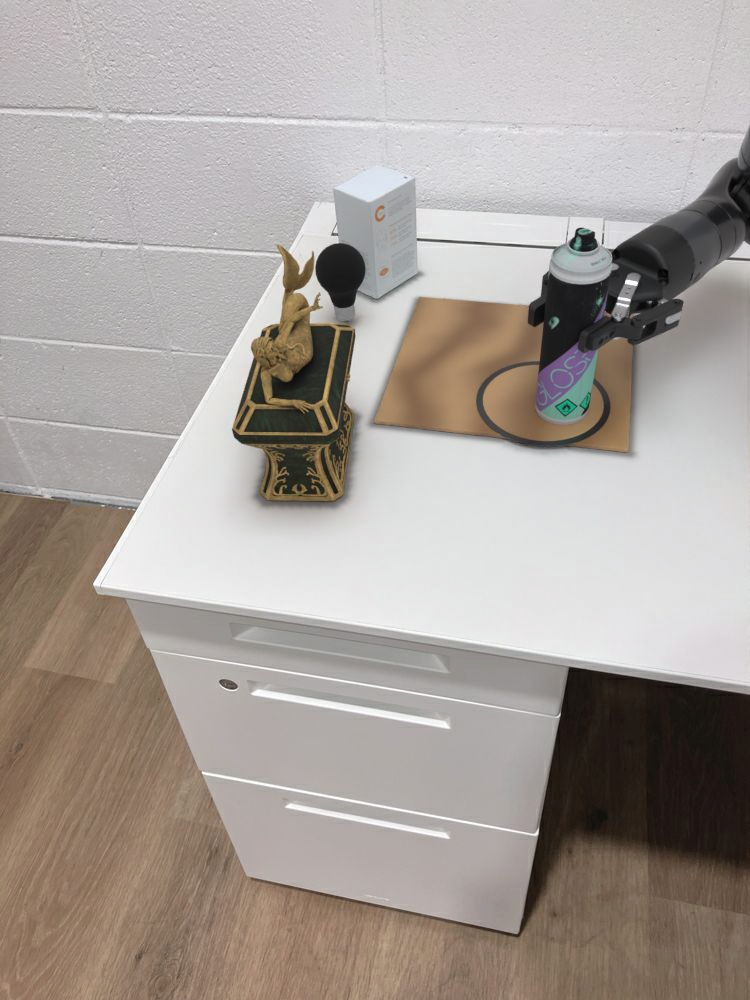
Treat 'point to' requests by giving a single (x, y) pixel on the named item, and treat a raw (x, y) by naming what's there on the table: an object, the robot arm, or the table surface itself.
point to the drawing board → (496, 379)
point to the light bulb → (341, 277)
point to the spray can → (571, 327)
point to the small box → (379, 226)
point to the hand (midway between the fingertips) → (556, 330)
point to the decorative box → (299, 398)
